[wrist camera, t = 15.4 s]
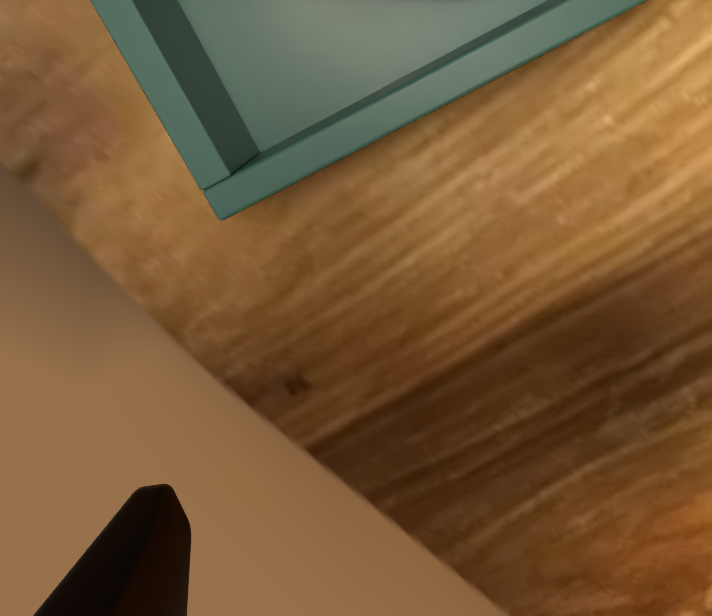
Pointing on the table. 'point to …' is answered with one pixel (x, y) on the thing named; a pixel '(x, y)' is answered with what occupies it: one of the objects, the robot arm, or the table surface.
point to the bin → (319, 74)
